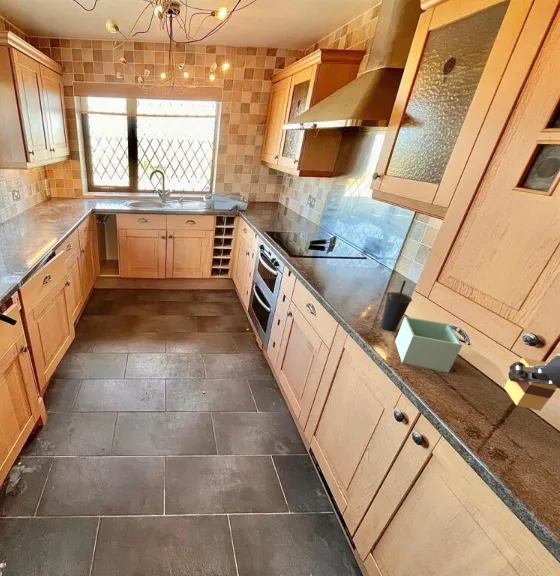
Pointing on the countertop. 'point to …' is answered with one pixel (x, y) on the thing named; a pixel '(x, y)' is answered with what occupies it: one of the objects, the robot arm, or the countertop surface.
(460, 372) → the countertop surface
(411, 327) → the storage box
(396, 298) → the drinking cup
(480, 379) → the countertop surface
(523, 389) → the yellow brown striped block
